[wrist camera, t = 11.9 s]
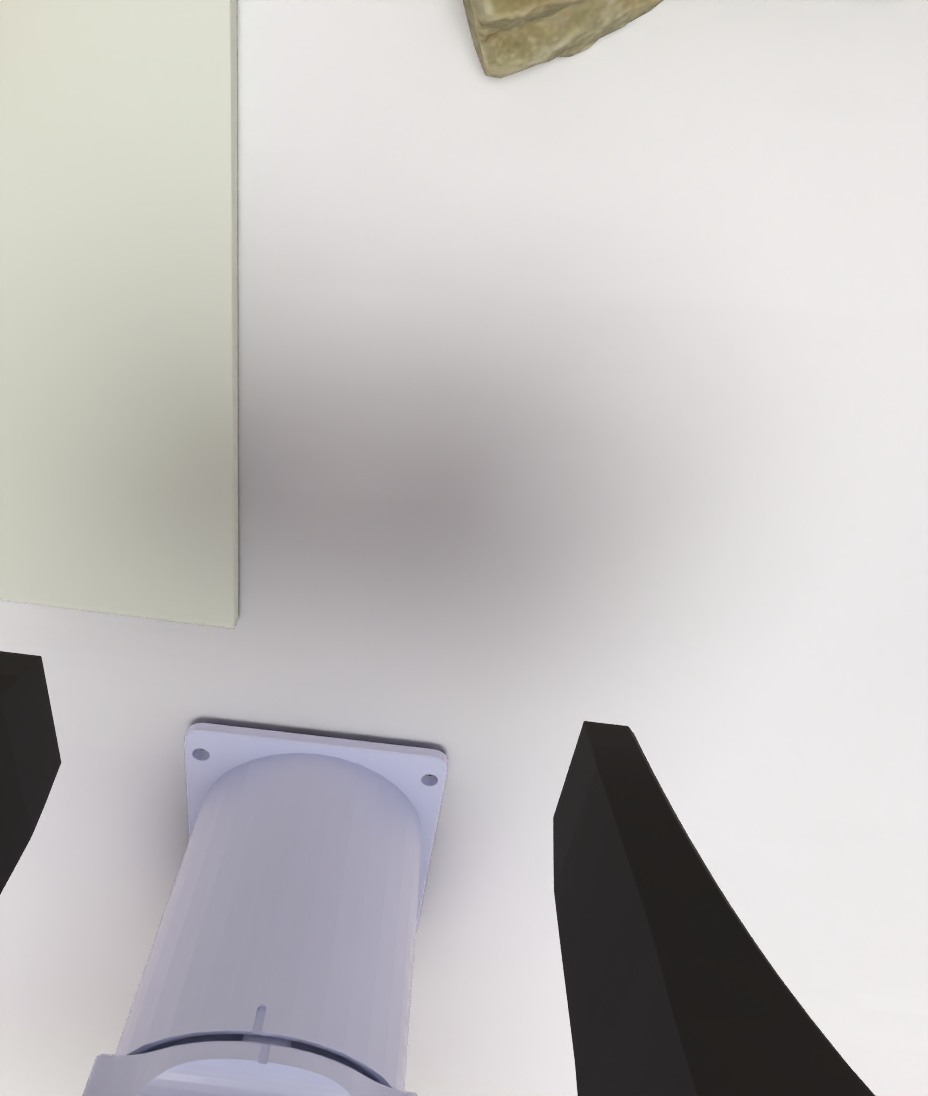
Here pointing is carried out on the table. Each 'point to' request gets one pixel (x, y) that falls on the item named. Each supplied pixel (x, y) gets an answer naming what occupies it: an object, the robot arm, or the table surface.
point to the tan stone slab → (543, 29)
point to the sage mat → (119, 307)
